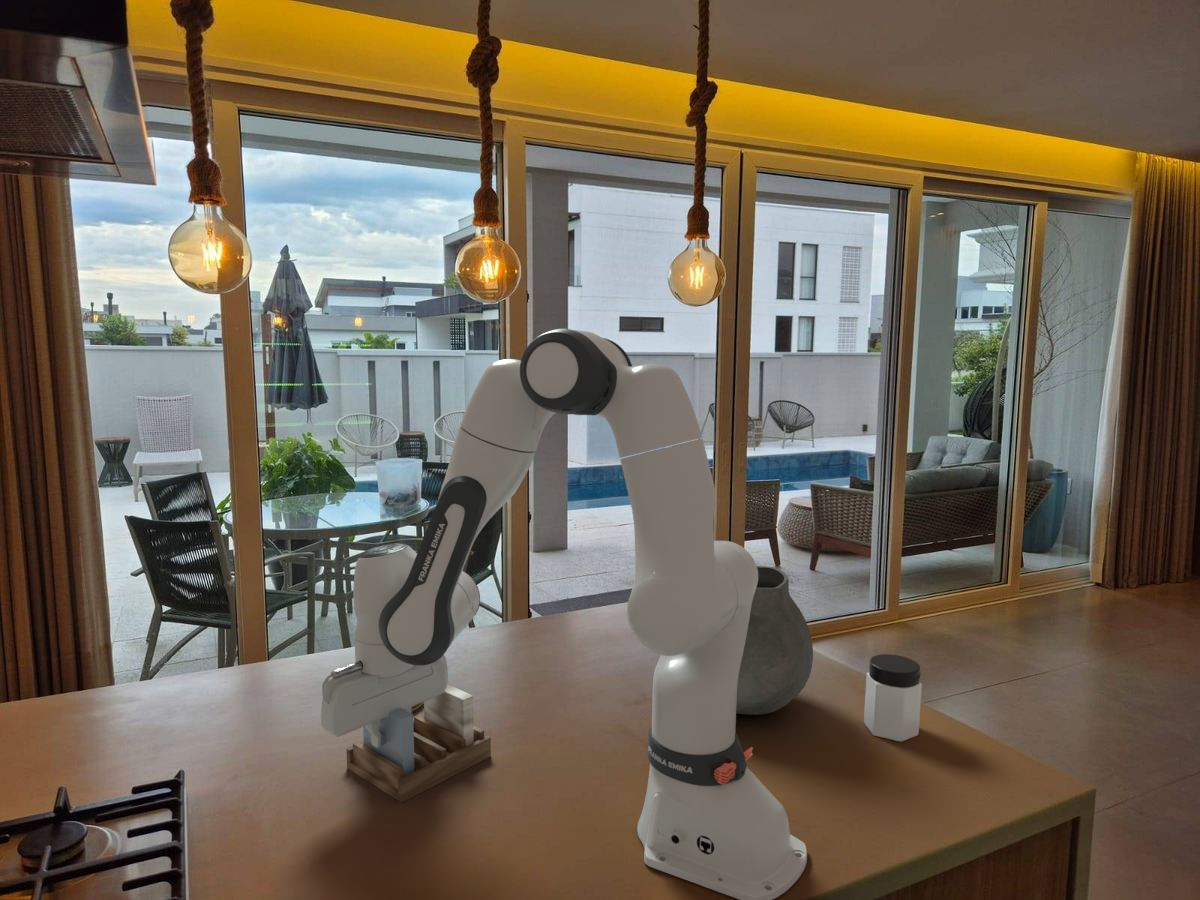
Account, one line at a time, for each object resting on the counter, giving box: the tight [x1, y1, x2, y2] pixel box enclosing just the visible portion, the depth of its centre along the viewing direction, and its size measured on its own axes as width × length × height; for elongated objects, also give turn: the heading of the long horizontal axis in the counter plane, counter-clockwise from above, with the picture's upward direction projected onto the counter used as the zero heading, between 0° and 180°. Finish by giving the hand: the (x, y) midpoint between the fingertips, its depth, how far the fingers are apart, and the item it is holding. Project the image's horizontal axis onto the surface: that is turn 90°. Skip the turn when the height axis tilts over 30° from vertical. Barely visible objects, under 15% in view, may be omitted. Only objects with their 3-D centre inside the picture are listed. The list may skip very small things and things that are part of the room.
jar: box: [863, 653, 923, 743], centre depth 135 cm, size 9×8×12 cm
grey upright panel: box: [362, 708, 415, 776], centre depth 118 cm, size 10×2×9 cm, turn 50°
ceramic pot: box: [736, 565, 814, 716], centre depth 142 cm, size 24×24×25 cm
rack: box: [346, 684, 492, 803], centre depth 122 cm, size 14×17×10 cm
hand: (388, 740), depth 118 cm, fingers closed on grey upright panel, 2 cm apart
